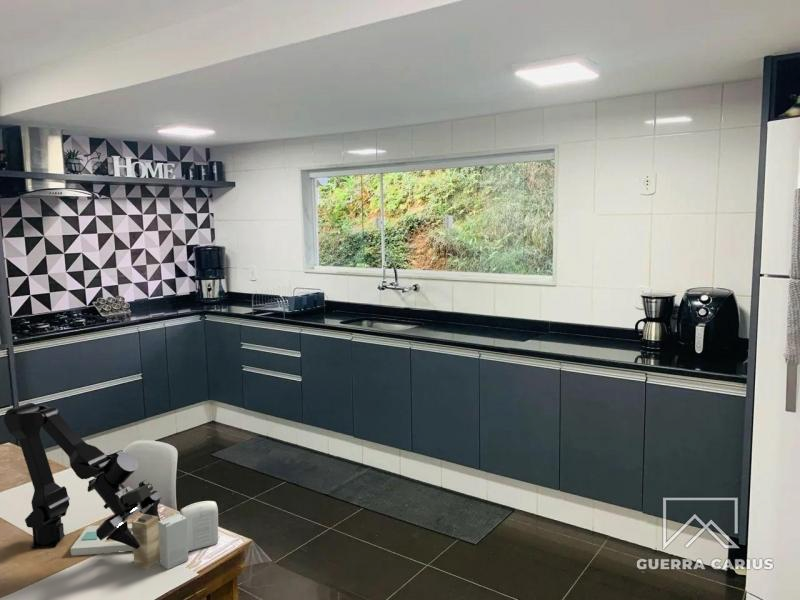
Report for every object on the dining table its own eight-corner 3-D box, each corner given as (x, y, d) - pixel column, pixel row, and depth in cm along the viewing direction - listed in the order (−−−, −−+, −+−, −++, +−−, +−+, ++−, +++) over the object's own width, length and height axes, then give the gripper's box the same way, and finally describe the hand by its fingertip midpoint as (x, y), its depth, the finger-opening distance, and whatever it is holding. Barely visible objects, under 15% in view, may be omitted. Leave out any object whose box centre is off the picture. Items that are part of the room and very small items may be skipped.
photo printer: (216, 537, 169) (214, 495, 168) (220, 543, 166) (219, 501, 164) (178, 547, 164) (176, 504, 162) (182, 554, 160) (180, 510, 159)
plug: (134, 565, 155) (131, 519, 153) (146, 556, 159) (144, 511, 157) (148, 568, 153) (146, 522, 152) (160, 559, 158) (158, 514, 156)
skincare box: (180, 554, 160) (179, 512, 158) (189, 560, 157) (188, 517, 156) (158, 564, 155) (156, 520, 154) (167, 571, 152) (165, 526, 151)
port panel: (71, 555, 159) (70, 547, 159) (87, 532, 171) (87, 525, 171) (149, 550, 162) (149, 542, 162) (160, 528, 174) (160, 521, 173)
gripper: (103, 490, 146) (142, 539, 144) (155, 461, 163) (190, 505, 161) (79, 515, 149) (117, 564, 147) (132, 485, 166) (167, 528, 165)
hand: (150, 539), depth 155 cm, fingers open, 8 cm apart
